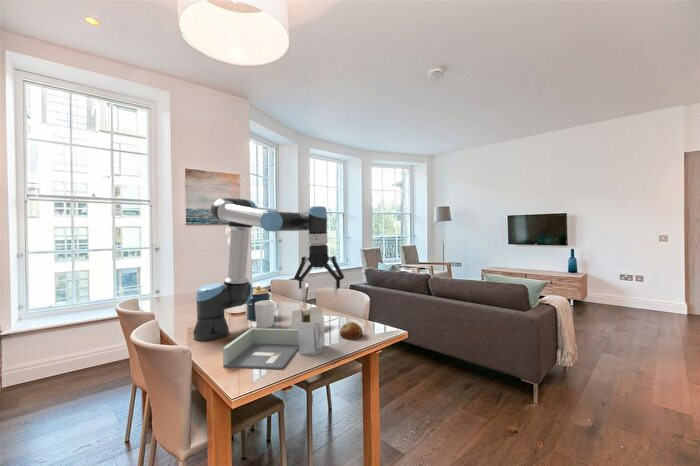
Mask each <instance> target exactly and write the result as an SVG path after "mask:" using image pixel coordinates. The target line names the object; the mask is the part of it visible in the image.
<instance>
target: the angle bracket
mask: <svg viewBox="0 0 700 466" xmlns="http://www.w3.org/2000/svg"><path fill="white" fill-rule="evenodd" d="M298 332H299V348H298V355H302V356H303V355H305V356H308V355H309V356H319V355H320V354H321V352H322V351H323V349H324V347H325V317H324V316H323V317H319V318H318V320H317V321H316V322H315V323H304V322H300V323H299V324H298Z"/></svg>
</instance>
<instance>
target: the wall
mask: <svg viewBox="0 0 700 466" xmlns="http://www.w3.org/2000/svg"><path fill="white" fill-rule="evenodd" d="M319 317H324V316H323V307H322V305H319V306H318V305H317V306H313V307H310V308H309V309H305V310H302V309H301V308H300V309H296V310H292V312H291V321H290V329H298V324H299V323H300V322H304V323H315V322H316V321H317V320H318V318H319Z"/></svg>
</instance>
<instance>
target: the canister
mask: <svg viewBox="0 0 700 466" xmlns="http://www.w3.org/2000/svg"><path fill="white" fill-rule="evenodd" d="M269 292H270V291H269V290H267V289H266V288H262V287H261V286H260V285H257V286H256V287H255V288H253V295H252V298H251V300H250V301H249V302H248V303H246V317H247V319H248V320H250V321H256V314H255V303H256V302H258V301H264V300H271V299H270V298H271V294H270V293H269Z"/></svg>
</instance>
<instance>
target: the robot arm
mask: <svg viewBox="0 0 700 466" xmlns="http://www.w3.org/2000/svg"><path fill="white" fill-rule="evenodd" d="M210 206H211V207H210V215H211V217H212V218H213V219H214V220H216V222H220V223H224V224H225V223H227V227H229V229H230V237H229V253H228V254H229V256H228V270H227V277H226V278H225V279H224V280H223V281H224V282H223V283H222V282H220V283H219V282H216V283H211V284H210V283H209V284H206V285H203V286H201V287H199V288H198V289H197V291H196V296H195V300H196V317H197V318H196V319H197V321H196V324H195V327H194V331H193V332H192V334H193V339H194V340H196V341H204V342H205V341H212V340H218V339H221V338H224V337H227V335H228V334H229V333H230V332H229V331H230V330H229V329H230V328H229V325H228V323H227V320H226V318H225V310H228V309H231V308H237V307H241V306H244V305H247V303H248V302H249V301H250V300H251V298H252V295H253V289H254V288H253V285H252V283H251V282H250V280H249V278H248V277H247V269H248V268H247V265H248V255H249V254H248V252H249V237H250V236H249V235H250V230H251V229H252V228H253V227H255V228H261V229H263V230H264V231H266V232H273V233H274V232H298V231H308V243H309V246H308V254H309V256H302V257H301V262H300V264H299V267H298V268H297V271H296V273H295V275H294V280H295V281H298V288H299V289H301V298H305V297H306V280H304V279H305V277H306V276H308V274H309V273H310V271H311V270H312V269H313V268H315V269H318V268H320V269H321V268H325V269H326V270H327V272H328V273H329V274H330V275H331V276H332V277H333V278H334V281H333V284H334V285H333V288H334V298H337V297H338V293H339V292H338V290H339V289H340V288H341V280H344V279H345V275H344V273H343V271H342V269H341V268H340V266H339V264H338V262H337V258H336V255H333V256H329V247H328V245H327V244H328V215H327V214H328V213H327V208H326V207H325V206H318V205H317V206H316V205H315V206H309V207H308V208H307V211H306V212H290V211H289V212H288V211H285V212H284V211H274V210H268V209H264V208H263V209H262V208H258V206H257V205H256V203H255V202H254V201H253V200H249V199H242V198H229V197H221V198H218V199H216V200H215V201H213V203H212V204H211V205H210ZM308 261H309V263H310V264H308V266H307V268H306V269H305V271H304V272H302V271H303V270H304V267H305V264H306V263H307V262H308ZM329 261H330V262H331V263H332V264H333V267H334V269H335V270H334V269H333V268H332V267H331V266H330V264H329V263H328V262H329ZM335 271H336V272H337V273H336V272H335Z"/></svg>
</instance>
